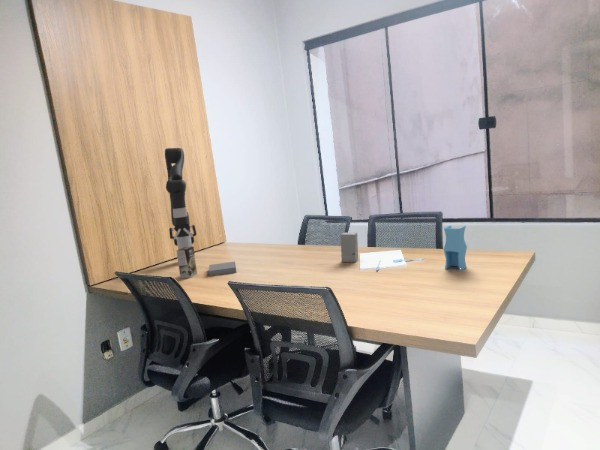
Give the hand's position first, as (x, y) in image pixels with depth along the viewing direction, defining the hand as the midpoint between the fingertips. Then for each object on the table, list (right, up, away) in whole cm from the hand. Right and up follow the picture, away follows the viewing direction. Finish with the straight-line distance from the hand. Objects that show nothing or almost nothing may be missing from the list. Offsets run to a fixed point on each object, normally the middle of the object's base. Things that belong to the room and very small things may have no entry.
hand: (184, 244), depth 232 cm
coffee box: (+2, -18, +3) cm, 18 cm away
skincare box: (+93, -9, +1) cm, 94 cm away
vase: (+140, -10, -33) cm, 144 cm away
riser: (+20, -16, +6) cm, 26 cm away
